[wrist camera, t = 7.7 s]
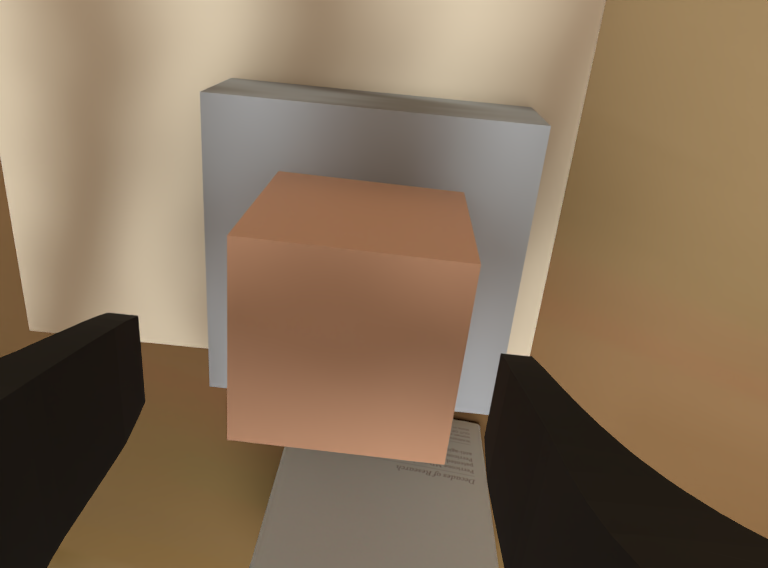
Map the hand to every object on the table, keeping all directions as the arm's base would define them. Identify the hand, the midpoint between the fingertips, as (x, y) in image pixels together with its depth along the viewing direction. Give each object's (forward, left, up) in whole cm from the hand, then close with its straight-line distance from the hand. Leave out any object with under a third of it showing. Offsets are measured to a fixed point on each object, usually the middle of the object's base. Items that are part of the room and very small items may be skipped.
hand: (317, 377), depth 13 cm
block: (0, 0, -6) cm, 6 cm away
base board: (-3, +4, -10) cm, 11 cm away
